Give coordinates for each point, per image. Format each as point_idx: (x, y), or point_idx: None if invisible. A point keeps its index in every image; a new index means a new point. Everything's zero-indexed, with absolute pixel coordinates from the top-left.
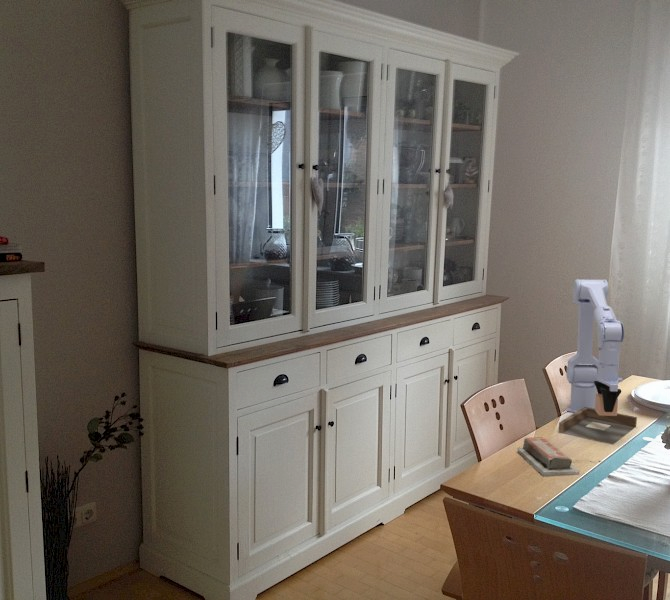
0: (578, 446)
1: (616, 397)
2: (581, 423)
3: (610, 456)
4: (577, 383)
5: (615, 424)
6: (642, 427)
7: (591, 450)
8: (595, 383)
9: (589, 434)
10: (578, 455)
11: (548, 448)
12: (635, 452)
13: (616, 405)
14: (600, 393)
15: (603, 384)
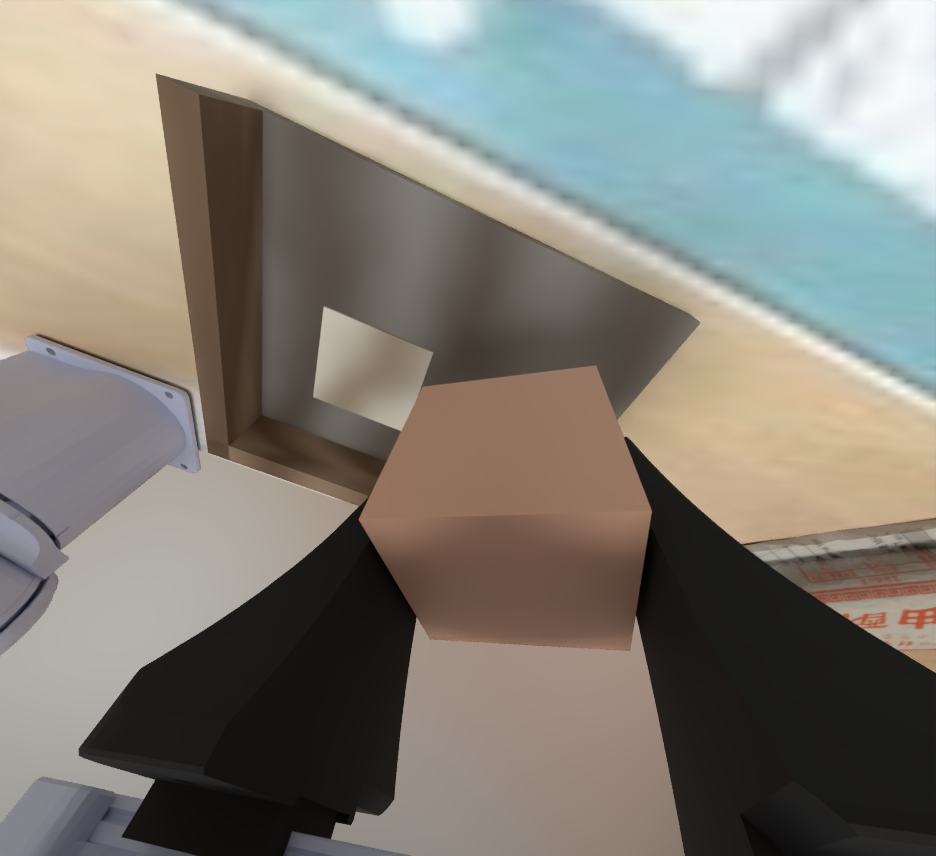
0: (660, 467)
1: (810, 610)
2: (365, 442)
3: (850, 342)
4: (33, 559)
5: (280, 272)
6: (146, 21)
7: (724, 424)
8: (388, 806)
9: None
10: (790, 478)
11: (914, 632)
12: (811, 147)
13: (621, 447)
14: (408, 617)
15: (351, 766)
